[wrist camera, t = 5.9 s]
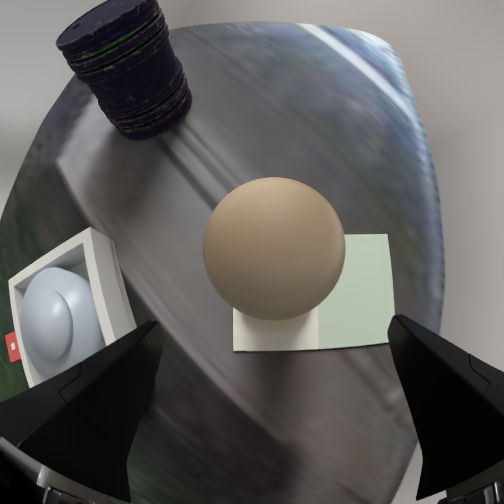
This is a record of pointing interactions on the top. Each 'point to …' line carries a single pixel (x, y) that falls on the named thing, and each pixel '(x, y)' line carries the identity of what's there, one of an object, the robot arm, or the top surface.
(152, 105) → the dark blue cylinder
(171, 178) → the top surface
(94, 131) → the top surface
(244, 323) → the game track
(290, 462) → the top surface
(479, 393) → the robot arm
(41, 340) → the dome button
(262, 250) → the beech pawn
